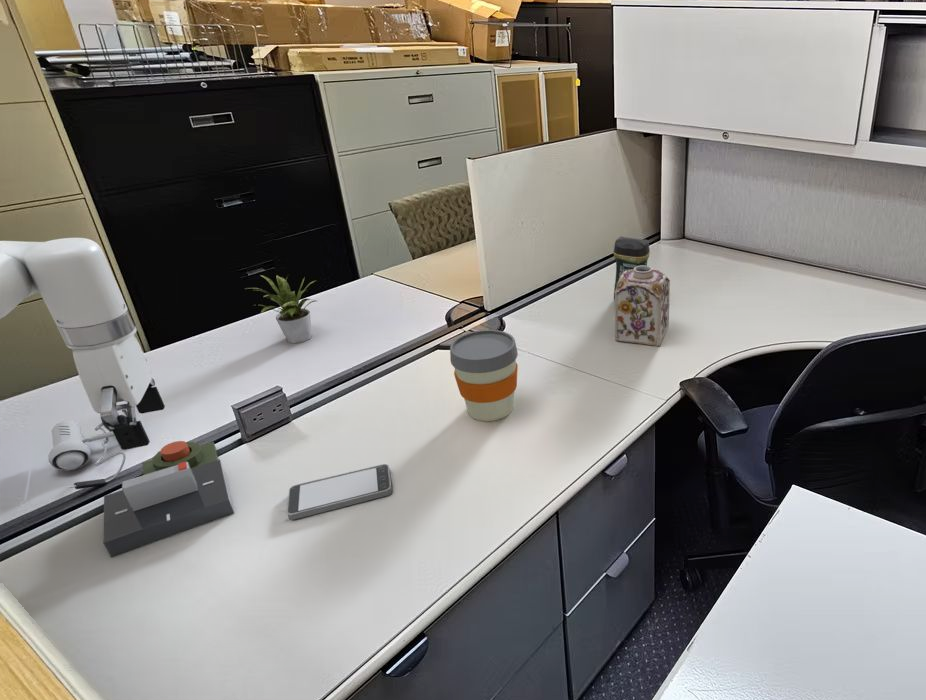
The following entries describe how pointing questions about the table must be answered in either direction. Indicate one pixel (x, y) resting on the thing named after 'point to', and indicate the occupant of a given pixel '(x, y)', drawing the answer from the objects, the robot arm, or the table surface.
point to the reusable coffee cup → (486, 372)
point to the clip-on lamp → (78, 450)
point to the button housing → (195, 458)
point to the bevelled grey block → (159, 486)
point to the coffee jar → (629, 255)
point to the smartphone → (338, 491)
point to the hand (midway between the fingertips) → (144, 427)
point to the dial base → (166, 512)
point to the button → (175, 451)
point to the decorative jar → (642, 306)
